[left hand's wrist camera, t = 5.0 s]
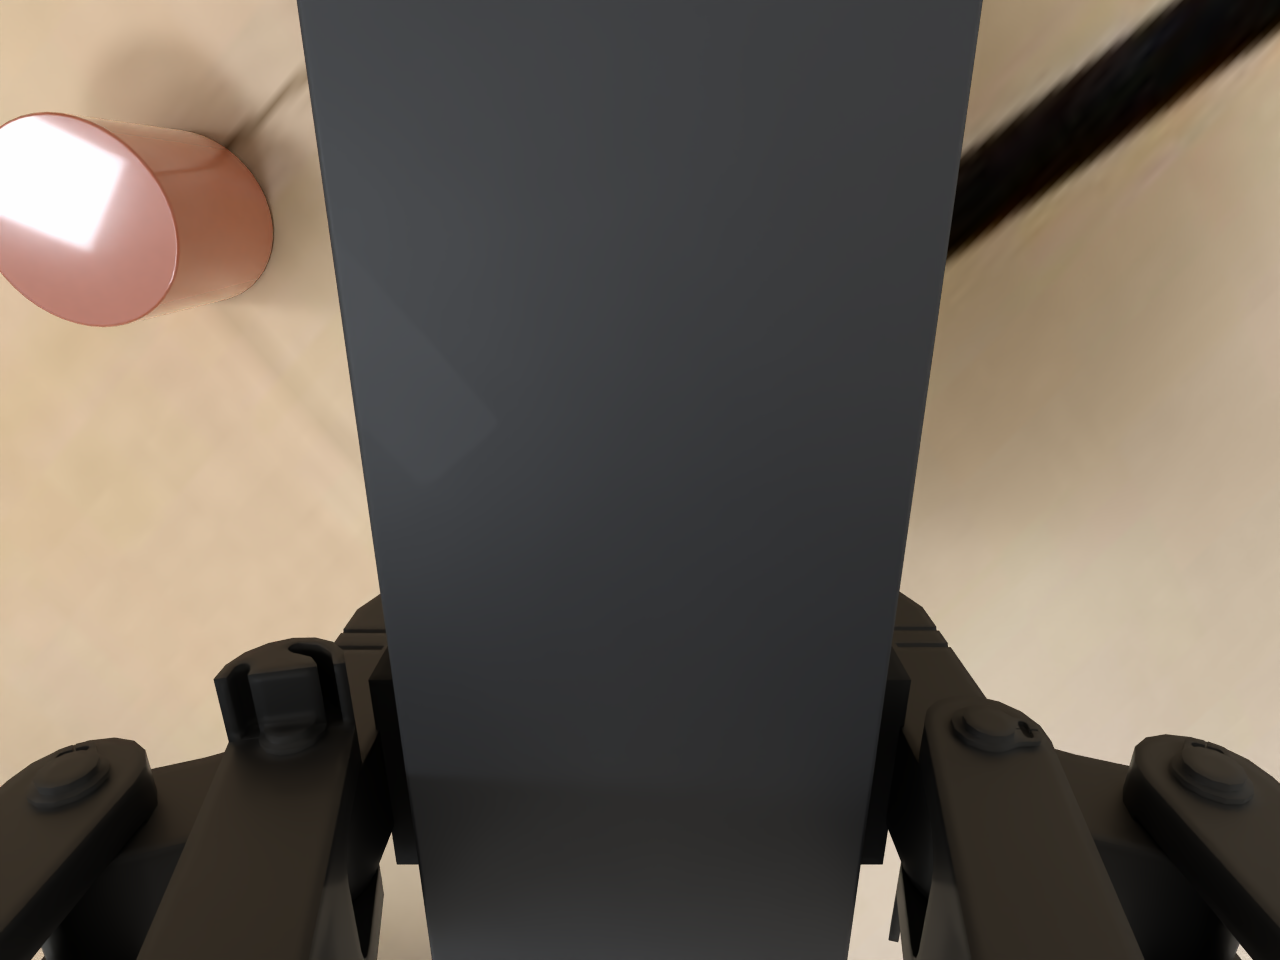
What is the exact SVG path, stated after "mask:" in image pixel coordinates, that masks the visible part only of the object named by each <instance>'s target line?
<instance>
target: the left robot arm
mask: <svg viewBox="0 0 1280 960" xmlns="http://www.w3.org/2000/svg"><path fill="white" fill-rule="evenodd" d="M214 683H215V687H216V691H217V695H218V699H219V703H220V707H221V712H222V716H223V720H224V724H225V728H226V732H227V736H228V740H229V743H228V745H227V748H226V750H225V752H223V753H220V754H216V755H213V756H209V757H206V758H201V759H196V760H192V761H187V762H182V763H178V764H173V765H168V766H164V767H159V768H154V769H151V768H150V765H149V761H148V758H147V754H146V751H145V749H143V748H142V747H141V746H140V745H139V744H137V743H136V742H135V741H132V740H126V739H120V738H107V739H98V740H90V741H86V742H82V743H78V744H76V745H71V746H68V747H65V748H62V749H59V750H57V751H56V752H54V753H52V754H50V755H48V756H46V757H44V758H42V759H40V760H38V761H35V762H33V763H32V764H30V765H29V766H27V767H26V768H25V769H23V770H22V771H20V772H19V773H18V774H16V775H15V776H14V777H12V778H11V779H9V780H8V781H7V782H6V783H5V784H4V785H2V786H1V787H0V960H31V959H32V958H33V957H34V955H35V954H36V953H37V952H38V950H39V949H40V948H42V951H43V953H44V957H43V958H42V960H377V953H378V944H379V935H380V925H381V916H382V907H383V897H384V892H383V885H382V878H381V872H380V866H379V862H380V860H381V857H382V855H383V852H384V850H385V847H386V845H387V842H388V840H389V837H390V835H391V832H392V836H393V843H394V849H395V856H396V862H397V864H419V863H418V856H417V849H416V842H415V835H414V828H413V821H412V813H411V806H410V799H409V792H408V785H407V778H406V771H405V764H404V757H403V750H402V743H401V736H400V728H399V721H398V714H397V707H396V700H395V693H394V686H393V679H392V672H391V665H390V658H389V651H388V643H387V636H386V629H385V622H384V615H383V608H382V601H381V594H379V595H378V596H377V597H375V598H374V599H372V600H371V601H369V602H368V603H366V604H365V605H363V606H362V607H360V608H359V609H357V611H356V612H355V614H354V615H353V617H352V618H351V619H350V621H349V622H348V624H347V625H346V627H345V628H344V632H343V633H341V634H340V635H339V637H338V638H337V639H336V641H335V642H331V641H327V640H323V639H319V638H291V639H286V640H281V641H276V642H271V643H268V644H265V645H263V646H260V647H257V648H255V649H252V650H250V651H247V652H245V653H243V654H242V655H240V656H239V657H237V658H236V659H234V660H233V661H231V662H230V663H228V664H226V665H225V666H224V668H223V669H222V670H221V671H220V672H219V673H218V675H217V676H216V677H215V678H214ZM888 830H889V832H890V835H891V837H892V840H893V842H894V845H895V847H896V850H897V852H898V855H899V857H900V860H901V866H900V872H899V878H898V884H897V890H896V896H895V902H894V908H893V914H892V920H891V926H890V933H889V940H890V941H895V942H898V941H899V935H900V933H901V942H902V952H903V960H1241V958H1240V957H1239V956H1238V955H1237V954H1236V951H1237V949H1238V946H1239V944H1240V945H1241V946H1242V947H1243V948H1244V949H1245V951H1246V952H1247V953H1248V954H1249V955H1250V957H1251V958H1252V959H1253V960H1280V783H1279V782H1278V781H1277V780H1275V779H1274V778H1273V777H1272V776H1270V775H1269V774H1268V773H1266V772H1265V771H1263V770H1262V769H1261V768H1259V767H1258V766H1257V765H1255V764H1254V763H1252V762H1251V761H1250V760H1248V759H1246V758H1244V757H1242V756H1240V755H1238V754H1236V753H1233V752H1231V751H1229V750H1227V749H1226V748H1224V747H1222V746H1219V745H1216V744H1214V743H1211V742H1205V741H1204V740H1200V739H1196V738H1192V737H1185V736H1176V735H1167V734H1165V735H1159V736H1152V737H1146V738H1145V739H1144V740H1143V741H1141V742H1140V743H1139V744H1138V745H1137V746H1135V749H1134V752H1133V756H1132V759H1131V762H1130V766H1126V765H1122V764H1117V763H1112V762H1108V761H1103V760H1098V759H1093V758H1089V757H1084V756H1079V755H1075V754H1071V753H1068V752H1064V751H1060V750H1057V749H1054V747H1053V744H1052V742H1051V740H1050V739H1049V737H1048V736H1047V735H1046V733H1045V732H1044V730H1043V729H1042V728H1041V726H1040V725H1038V724H1037V723H1036V722H1034V721H1033V720H1032V719H1030V718H1029V717H1028V716H1026V715H1025V714H1024V713H1022V712H1021V711H1019V710H1016V709H1014V708H1012V707H1010V706H1008V705H1005V704H1003V703H1001V702H998V701H994V700H990V699H987V698H986V697H985V696H984V694H983V693H982V691H981V690H980V688H979V687H978V686H977V684H976V683H975V681H974V680H973V678H972V677H971V676H970V674H969V673H968V671H967V670H966V668H965V667H964V666H963V664H962V663H961V661H960V660H959V659H958V657H957V656H956V654H955V653H954V651H953V650H952V649H951V647H948V643H947V641H946V640H945V639H944V637H943V636H942V634H941V633H940V631H937V630H936V626H935V624H934V623H933V621H932V620H931V619H930V617H929V616H928V614H927V613H926V611H925V610H924V609H923V607H921V606H920V605H919V604H917V603H916V602H914V601H913V600H911V599H910V598H908V597H907V596H905V595H904V594H902V593H901V592H899V596H898V603H897V611H896V618H895V625H894V632H893V639H892V646H891V653H890V660H889V667H888V674H887V681H886V688H885V695H884V703H883V710H882V717H881V724H880V731H879V738H878V745H877V752H876V759H875V766H874V773H873V780H872V787H871V795H870V802H869V809H868V816H867V823H866V830H865V837H864V844H863V851H862V858H861V864H883V859H884V852H885V846H886V839H887V833H888Z"/></svg>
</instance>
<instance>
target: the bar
mask: <svg viewBox="0 0 1280 960" xmlns="http://www.w3.org/2000/svg"><path fill="white" fill-rule="evenodd" d="M982 2H983V0H297V6H298V13H299V20H300V27H301V34H302V41H303V48H304V55H305V62H306V70H307V77H308V84H309V91H310V98H311V105H312V112H313V119H314V126H315V133H316V140H317V147H318V155H319V162H320V169H321V176H322V183H323V190H324V197H325V204H326V211H327V218H328V225H329V233H330V240H331V247H332V254H333V261H334V268H335V275H336V282H337V289H338V296H339V303H340V310H341V318H342V325H343V332H344V339H345V346H346V353H347V360H348V367H349V374H350V381H351V388H352V395H353V403H354V410H355V417H356V424H357V431H358V438H359V445H360V452H361V459H362V466H363V473H364V480H365V488H366V495H367V502H368V509H369V516H370V523H371V530H372V537H373V544H374V551H375V558H376V566H377V573H378V580H379V587H380V594H381V601H382V608H383V615H384V622H385V629H386V636H387V643H388V651H389V658H390V665H391V672H392V679H393V686H394V693H395V700H396V707H397V714H398V721H399V728H400V736H401V743H402V750H403V757H404V764H405V771H406V778H407V785H408V792H409V799H410V806H411V813H412V821H413V828H414V835H415V842H416V849H417V856H418V863H419V870H420V877H421V884H422V891H423V899H424V906H425V913H426V920H427V927H428V934H429V941H430V948H431V955H432V960H847V957H848V950H849V943H850V936H851V929H852V922H853V915H854V908H855V901H856V894H857V887H858V880H859V872H860V865H861V858H862V851H863V844H864V837H865V830H866V823H867V816H868V809H869V802H870V795H871V787H872V780H873V773H874V766H875V759H876V752H877V745H878V738H879V731H880V724H881V717H882V710H883V703H884V695H885V688H886V681H887V674H888V667H889V660H890V653H891V646H892V639H893V632H894V625H895V618H896V611H897V603H898V596H899V589H900V582H901V575H902V568H903V561H904V554H905V547H906V540H907V533H908V526H909V518H910V511H911V504H912V497H913V490H914V483H915V476H916V469H917V462H918V455H919V448H920V441H921V434H922V426H923V419H924V412H925V405H926V398H927V391H928V384H929V377H930V370H931V363H932V356H933V349H934V341H935V334H936V327H937V320H938V313H939V306H940V299H941V292H942V285H943V278H944V271H945V264H946V257H947V249H948V242H949V235H950V228H951V221H952V214H953V207H954V200H955V193H956V186H957V179H958V172H959V165H960V157H961V150H962V143H963V136H964V129H965V122H966V115H967V108H968V101H969V94H970V87H971V80H972V72H973V65H974V58H975V51H976V44H977V37H978V30H979V23H980V16H981V9H982Z"/></svg>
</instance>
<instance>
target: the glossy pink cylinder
mask: <svg viewBox="0 0 1280 960" xmlns="http://www.w3.org/2000/svg"><path fill="white" fill-rule="evenodd" d="M272 242H273V227H272V218H271V214H270V210H269V206H268V204H267V201H266V198H265V196H264V194H263V192H262V190H261V187H260V186H259V184H258V182H257V181H256V179H255V178H254V176H253V175H252V173H251V172H250V171H249V170H248V168H247V167H246V166H245V165H244V164H243V163H242V162H241V161H240V160H239V159H238V158H237V157H236V156H235V155H234V154H233V153H231V152H230V151H229V150H228V149H226V148H225V147H223V146H222V145H220V144H219V143H217V142H215V141H213V140H211V139H209V138H207V137H205V136H202V135H199V134H196V133H193V132H188V131H184V130H177V129H170V128H163V127H156V126H149V125H142V124H135V123H128V122H121V121H114V120H107V119H100V118H93V117H87V116H80V115H73V114H66V113H56V112H39V113H31V114H27V115H23V116H20V117H17V118H15V119H12V120H10V121H8V122H7V123H5V124H4V125H2V126H0V272H1V273H2V275H3V276H4V277H5V278H6V279H7V280H8V281H9V282H10V283H11V285H12V286H13V287H14V288H15V289H17V290H18V291H19V292H20V293H21V294H22V295H23V296H25V297H26V298H27V299H28V300H30V301H31V302H33V303H34V304H35V305H37V306H38V307H40V308H42V309H44V310H45V311H47V312H49V313H51V314H53V315H55V316H57V317H60V318H62V319H65V320H68V321H71V322H74V323H77V324H82V325H87V326H95V327H112V326H120V325H124V324H129V323H133V322H137V321H141V320H145V319H149V318H153V317H157V316H161V315H165V314H169V313H174V312H178V311H182V310H186V309H190V308H194V307H198V306H202V305H206V304H210V303H214V302H218V301H222V300H226V299H229V298H232V297H235V296H237V295H239V294H241V293H242V292H244V291H246V290H247V289H248V288H249V287H251V286H252V285H253V284H254V283H255V282H256V281H257V280H258V279H259V277H260V276H261V274H262V273H263V271H264V269H265V267H266V265H267V263H268V260H269V257H270V254H271V249H272Z"/></svg>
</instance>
